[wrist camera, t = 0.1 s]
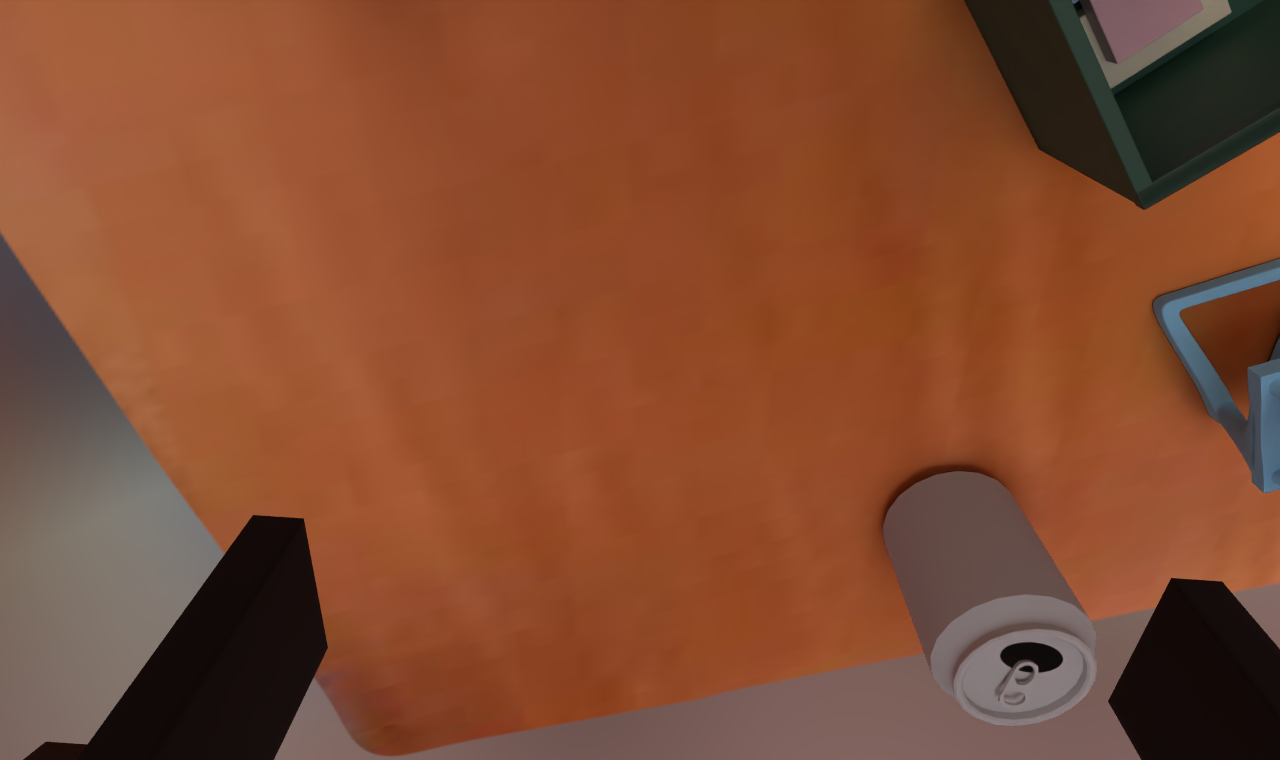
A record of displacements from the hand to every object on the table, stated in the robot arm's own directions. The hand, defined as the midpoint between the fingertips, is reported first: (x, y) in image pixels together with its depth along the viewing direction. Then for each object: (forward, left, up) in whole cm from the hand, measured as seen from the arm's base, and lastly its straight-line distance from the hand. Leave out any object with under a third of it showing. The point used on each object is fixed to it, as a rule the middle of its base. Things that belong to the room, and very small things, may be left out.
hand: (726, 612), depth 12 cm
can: (+19, +17, -28) cm, 38 cm away
